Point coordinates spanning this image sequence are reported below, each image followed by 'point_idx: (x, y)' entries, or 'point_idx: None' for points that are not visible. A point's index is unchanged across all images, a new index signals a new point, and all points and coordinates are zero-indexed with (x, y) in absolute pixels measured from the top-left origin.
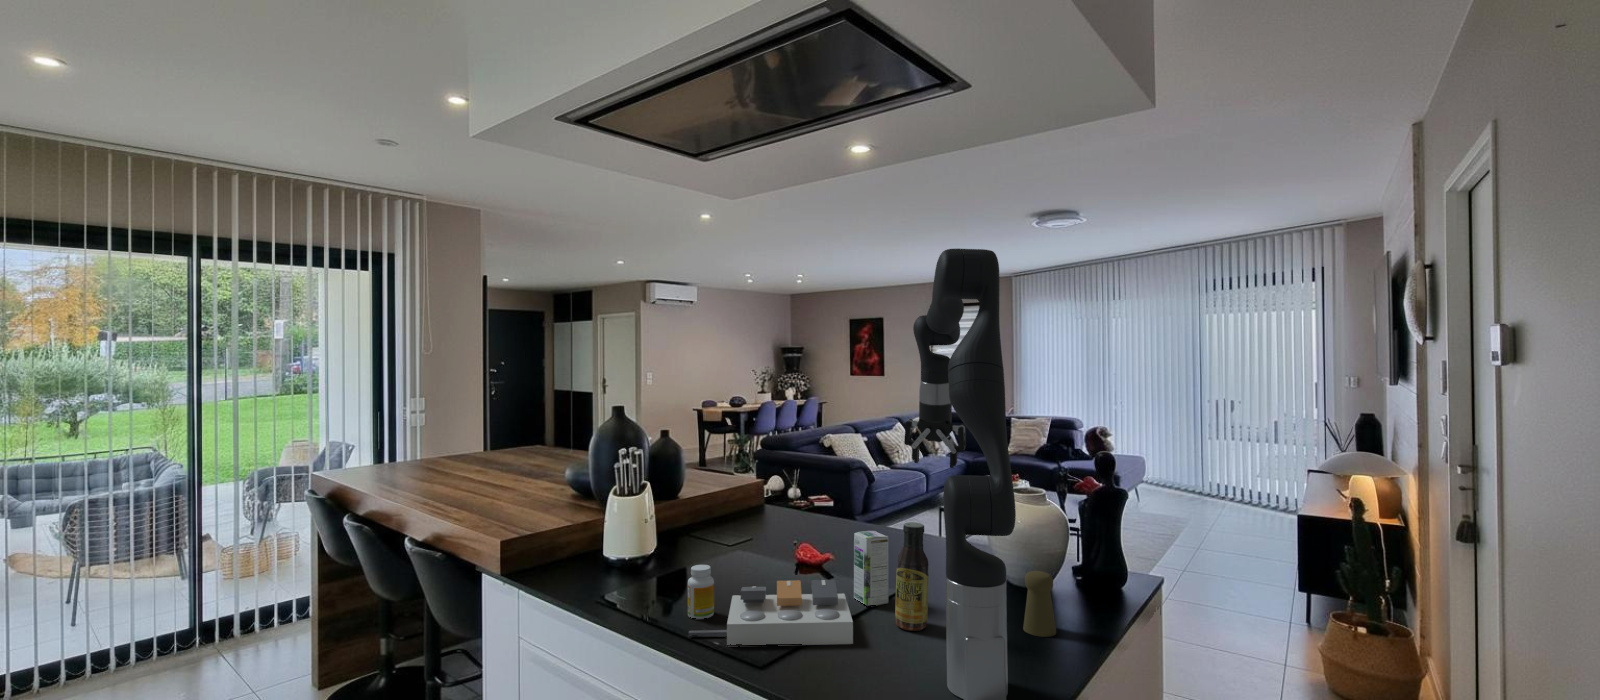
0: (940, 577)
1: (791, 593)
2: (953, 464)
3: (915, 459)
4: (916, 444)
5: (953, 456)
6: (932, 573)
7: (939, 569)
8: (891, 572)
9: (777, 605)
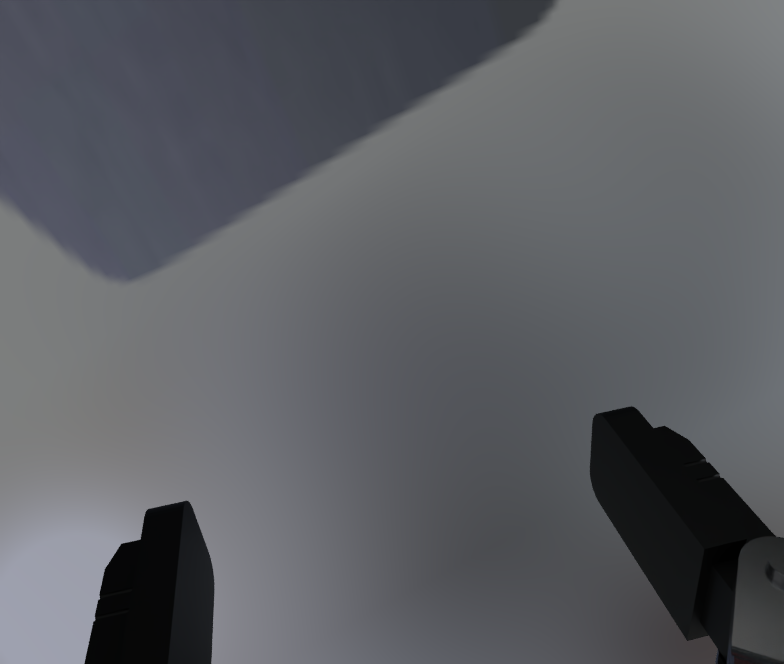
0: (231, 76)
1: None
2: (141, 552)
3: (640, 432)
4: (771, 611)
5: (130, 656)
6: (287, 110)
7: (283, 178)
8: (454, 18)
9: None
